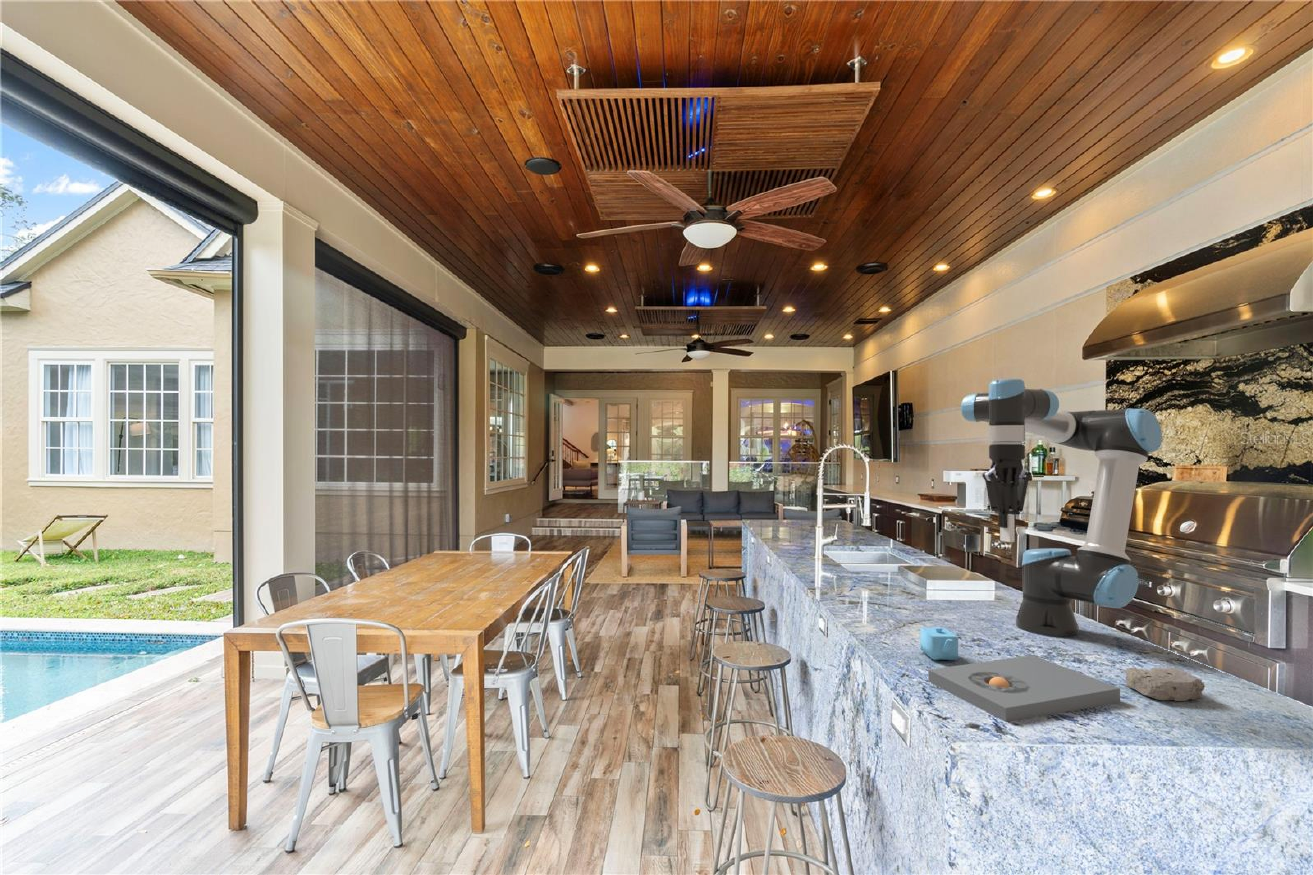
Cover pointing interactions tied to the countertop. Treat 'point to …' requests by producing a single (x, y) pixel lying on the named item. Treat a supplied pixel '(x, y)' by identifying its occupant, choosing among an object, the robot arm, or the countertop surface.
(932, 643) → the light blue teapot
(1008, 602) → the countertop surface
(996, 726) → the countertop surface
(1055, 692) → the plate
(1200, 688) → the stone
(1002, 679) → the ball
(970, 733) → the countertop surface
